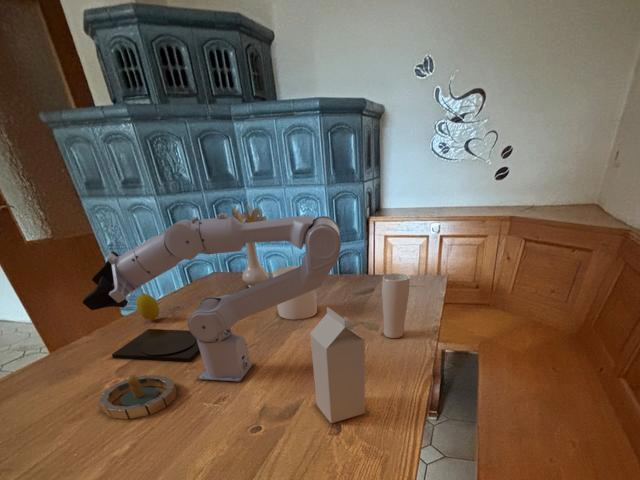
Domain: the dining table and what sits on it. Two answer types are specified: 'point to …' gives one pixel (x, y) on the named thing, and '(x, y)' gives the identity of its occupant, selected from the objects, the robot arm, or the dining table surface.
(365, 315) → the dining table surface
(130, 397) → the stand
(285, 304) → the cup
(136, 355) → the hob plate
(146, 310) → the lemon
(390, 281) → the drinking glass
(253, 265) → the flower vase
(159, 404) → the tan flat ring
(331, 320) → the milk carton
